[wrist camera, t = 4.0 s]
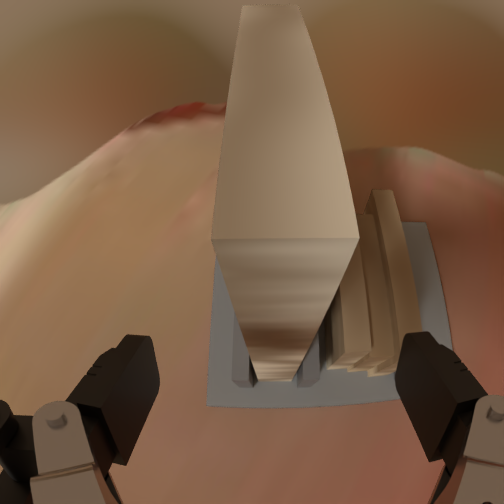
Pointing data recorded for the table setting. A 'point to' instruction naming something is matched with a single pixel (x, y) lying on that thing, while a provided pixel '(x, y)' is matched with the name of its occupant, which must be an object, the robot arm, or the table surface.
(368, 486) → the table surface
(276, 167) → the birch panel
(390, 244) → the pine offcuts
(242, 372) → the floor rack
